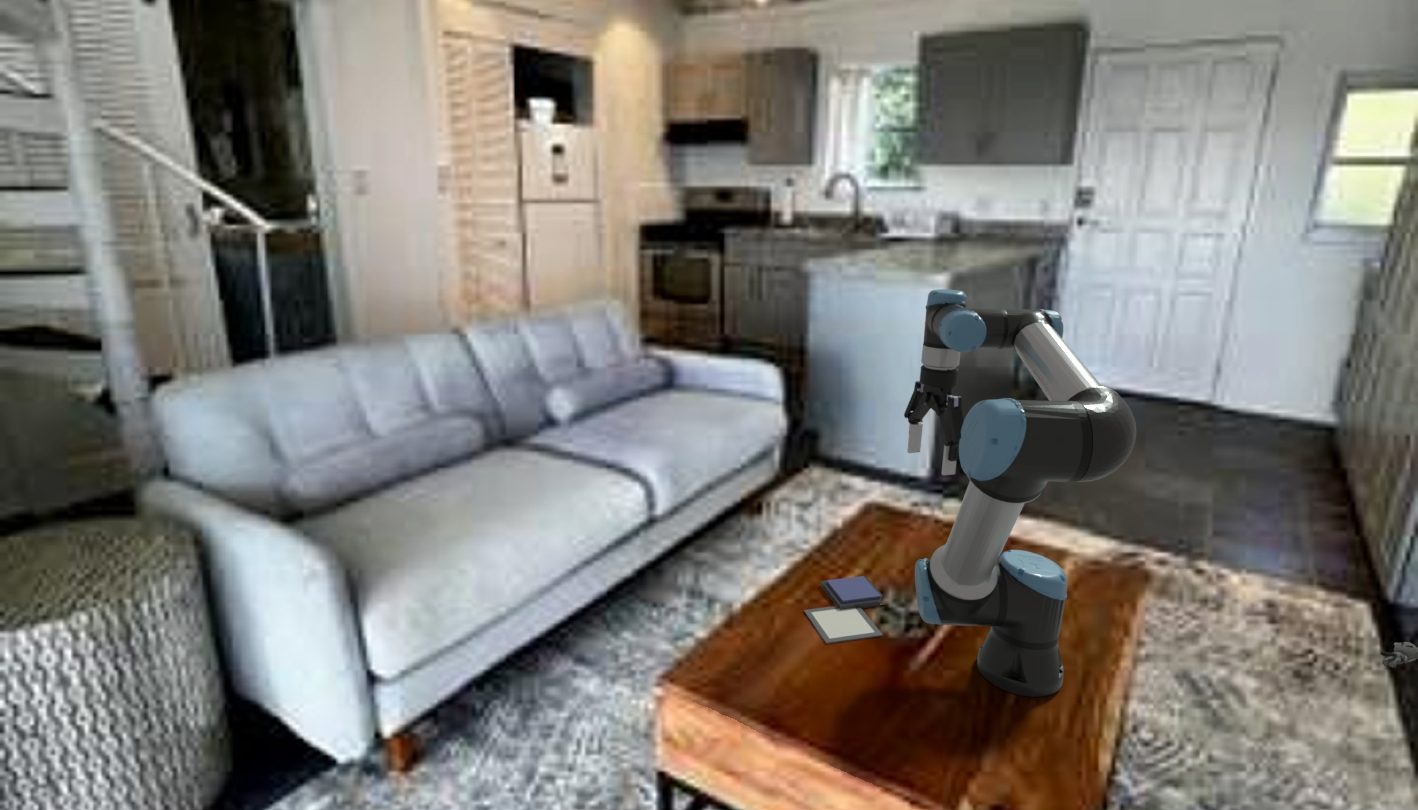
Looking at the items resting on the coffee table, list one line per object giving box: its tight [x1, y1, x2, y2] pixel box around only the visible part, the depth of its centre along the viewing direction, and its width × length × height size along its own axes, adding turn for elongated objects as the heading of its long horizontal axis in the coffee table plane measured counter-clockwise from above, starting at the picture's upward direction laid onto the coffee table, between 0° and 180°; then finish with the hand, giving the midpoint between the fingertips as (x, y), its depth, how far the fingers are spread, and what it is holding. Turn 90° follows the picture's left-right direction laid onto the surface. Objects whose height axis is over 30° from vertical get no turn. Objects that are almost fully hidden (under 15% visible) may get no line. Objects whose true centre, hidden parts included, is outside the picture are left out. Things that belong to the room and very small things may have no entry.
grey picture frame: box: [803, 605, 884, 645], centre depth 159 cm, size 12×12×1 cm
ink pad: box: [820, 575, 884, 610], centre depth 170 cm, size 11×11×2 cm
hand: (930, 463), depth 161 cm, fingers open, 13 cm apart
